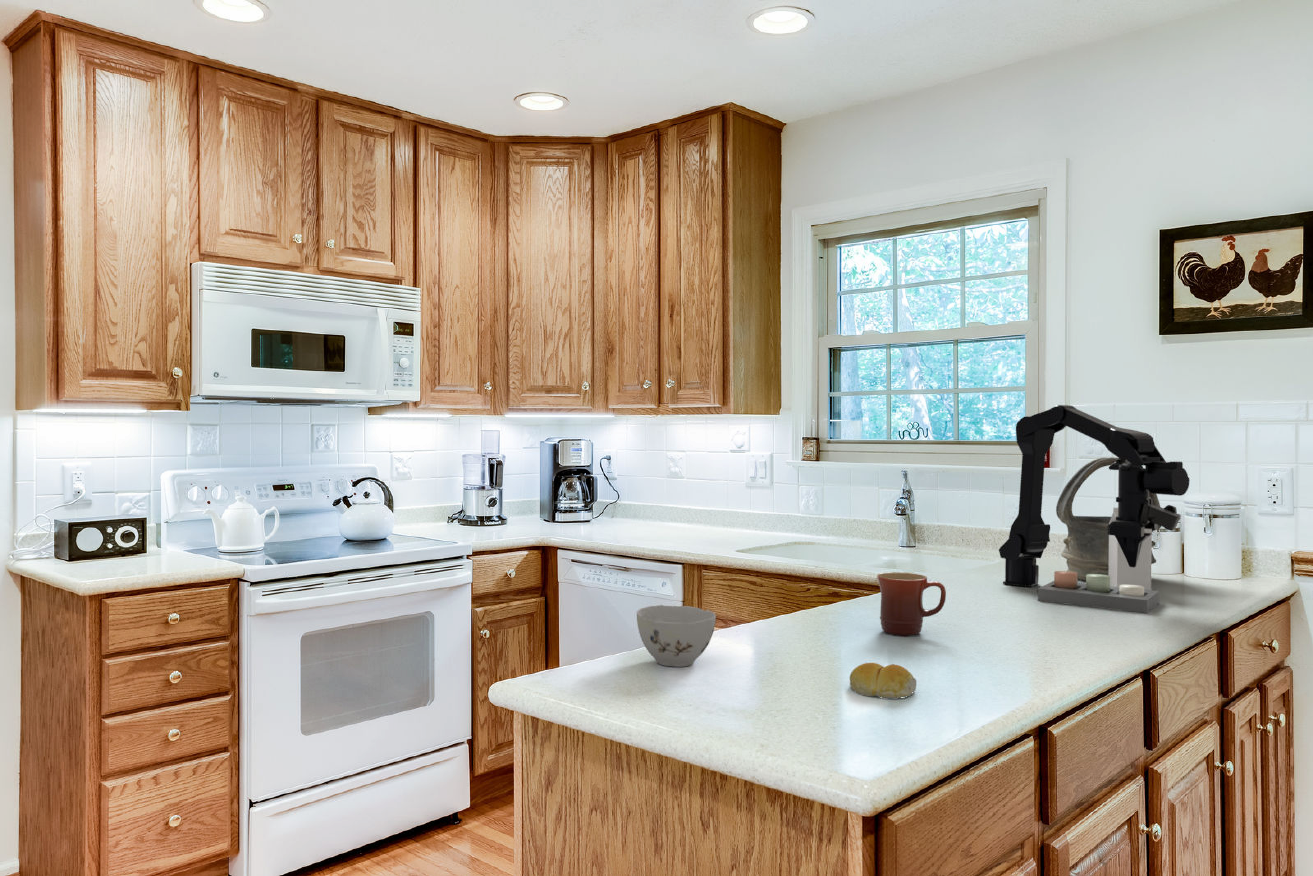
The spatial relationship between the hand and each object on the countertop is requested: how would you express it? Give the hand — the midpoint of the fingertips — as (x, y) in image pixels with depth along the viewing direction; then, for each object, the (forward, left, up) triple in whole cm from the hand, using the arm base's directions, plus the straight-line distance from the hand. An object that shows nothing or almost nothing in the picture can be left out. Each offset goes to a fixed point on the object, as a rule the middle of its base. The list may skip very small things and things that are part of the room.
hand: (1132, 567), depth 193 cm
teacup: (-47, -96, -8) cm, 107 cm away
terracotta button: (-13, 0, -5) cm, 14 cm away
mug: (-26, -54, -8) cm, 61 cm away
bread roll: (-15, -91, -9) cm, 93 cm away
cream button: (0, 0, -7) cm, 7 cm away
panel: (-7, 0, -8) cm, 11 cm away
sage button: (-7, 0, -5) cm, 9 cm away
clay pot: (-12, +36, -8) cm, 39 cm away
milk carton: (-4, +19, -8) cm, 21 cm away
